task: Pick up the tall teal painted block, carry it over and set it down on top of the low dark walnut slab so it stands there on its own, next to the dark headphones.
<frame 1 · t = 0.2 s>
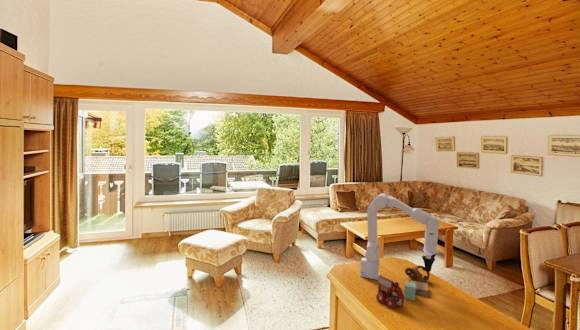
hand: (428, 268, 150), 10 cm above the table, fingers open, 7 cm apart
toy fire truck: (389, 303, 136), on the table
teal block: (409, 297, 141), on the table
dark headphones: (416, 279, 160), on the table
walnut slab: (418, 291, 148), on the table
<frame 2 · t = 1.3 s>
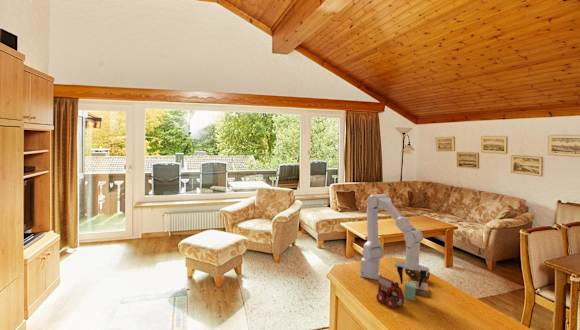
hand: (410, 284, 141), 6 cm above the table, fingers open, 7 cm apart
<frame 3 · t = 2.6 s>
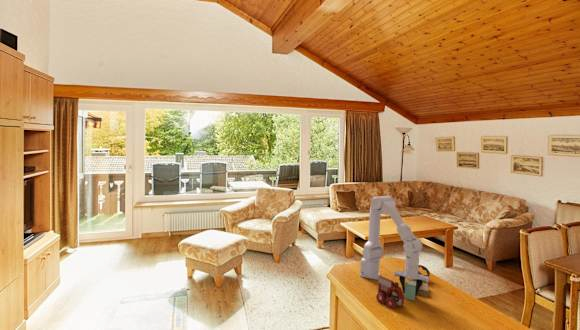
hand: (409, 293, 141), 2 cm above the table, fingers closed on teal block, 4 cm apart
teal block: (409, 297, 141), on the table, touching gripper
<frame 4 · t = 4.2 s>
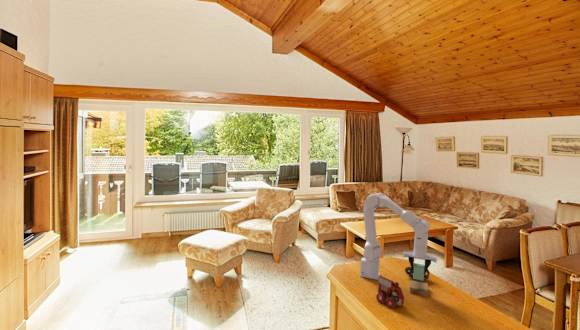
hand: (418, 273, 146), 9 cm above the table, fingers closed on teal block, 4 cm apart
teal block: (418, 277, 146), point 7 cm above the table, touching gripper
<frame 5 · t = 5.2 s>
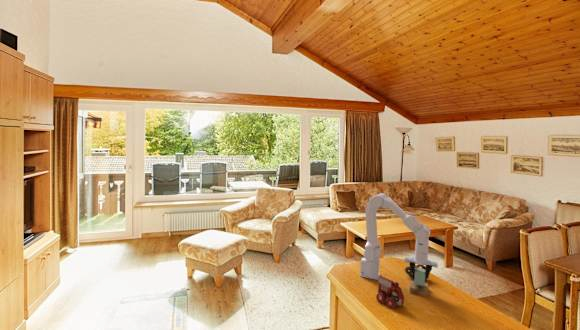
hand: (419, 279, 147), 6 cm above the table, fingers closed on teal block, 4 cm apart
teal block: (419, 282, 147), point 4 cm above the table, touching gripper
when the fingers open (6 cm above the table, at t = 5.8 s): teal block drops 1 cm, point 3 cm above the table.
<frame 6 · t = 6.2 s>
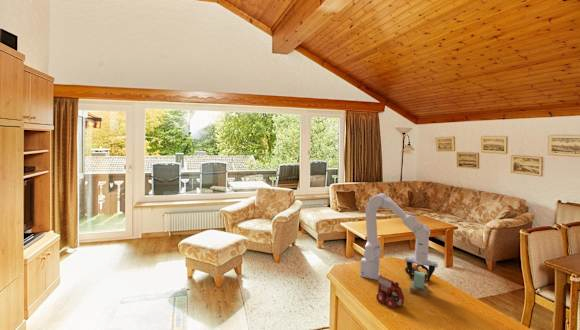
hand: (419, 279, 147), 6 cm above the table, fingers open, 7 cm apart
teal block: (418, 285, 147), point 3 cm above the table
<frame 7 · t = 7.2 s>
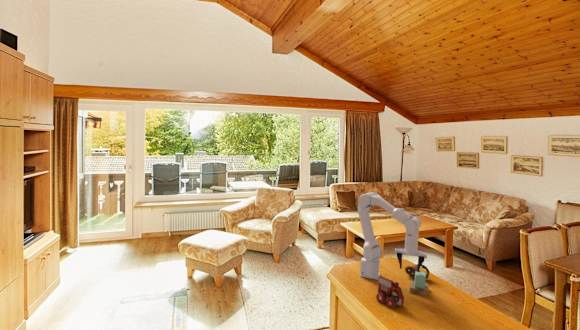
hand: (409, 269, 148), 10 cm above the table, fingers open, 7 cm apart
teal block: (419, 285, 147), point 2 cm above the table, touching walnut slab
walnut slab: (418, 291, 148), on the table, touching teal block
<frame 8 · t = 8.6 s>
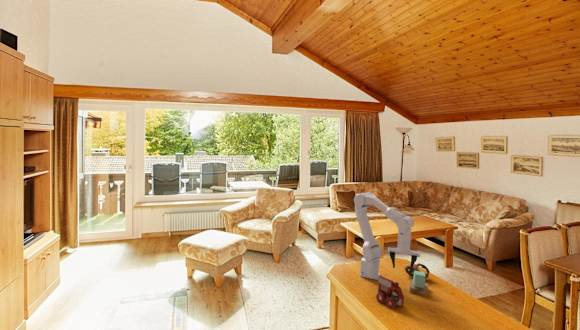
hand: (402, 268, 148), 10 cm above the table, fingers open, 7 cm apart
at the end: teal block 0.3 cm off-centre on the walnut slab, point 3.0 cm above the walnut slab's base; teal block tilted 0°; the gripper is holding nothing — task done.
